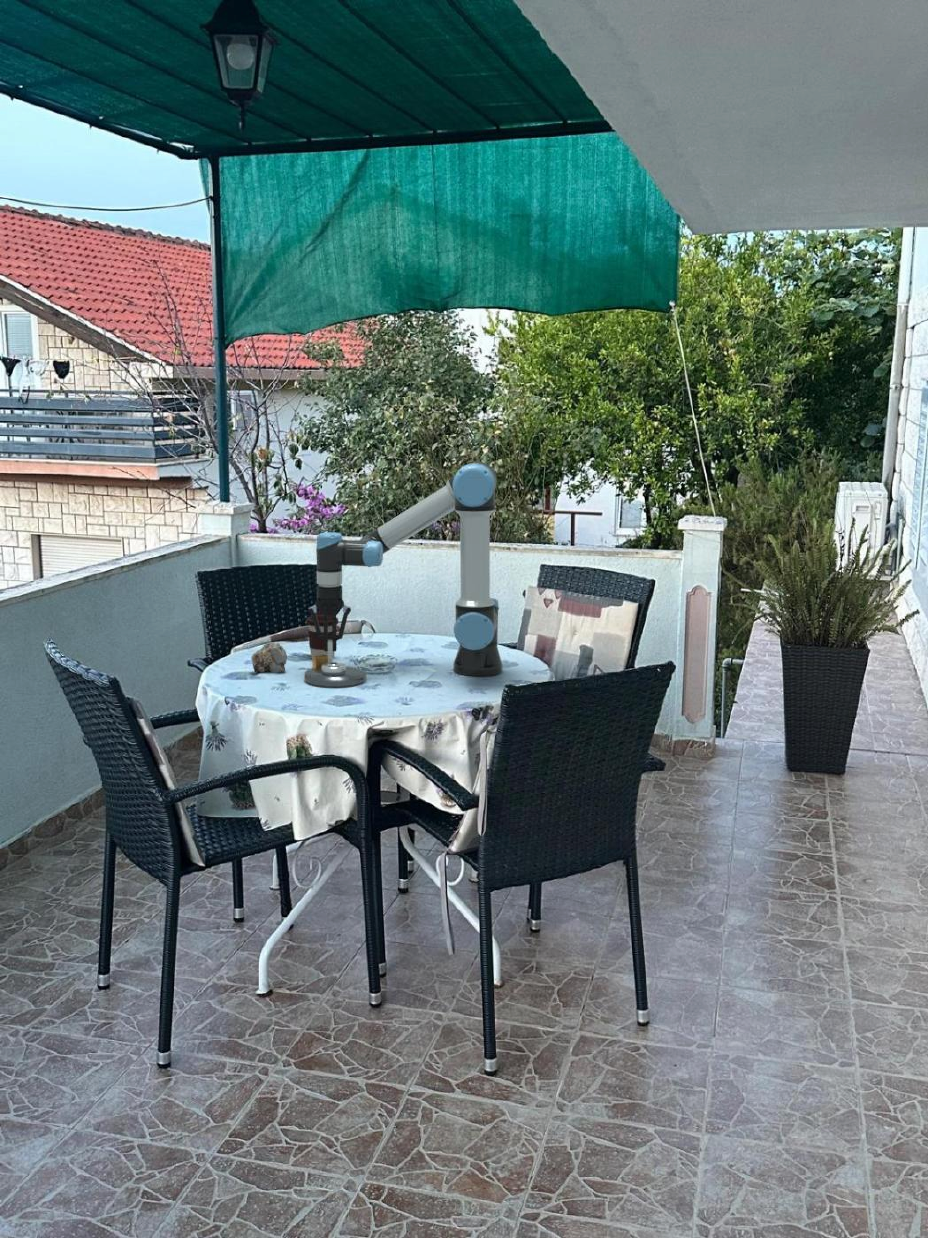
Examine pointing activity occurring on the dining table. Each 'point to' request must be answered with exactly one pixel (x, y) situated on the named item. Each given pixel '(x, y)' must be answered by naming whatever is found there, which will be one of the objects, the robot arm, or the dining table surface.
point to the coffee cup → (316, 643)
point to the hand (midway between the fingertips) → (330, 661)
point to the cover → (333, 669)
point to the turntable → (319, 680)
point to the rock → (269, 658)
